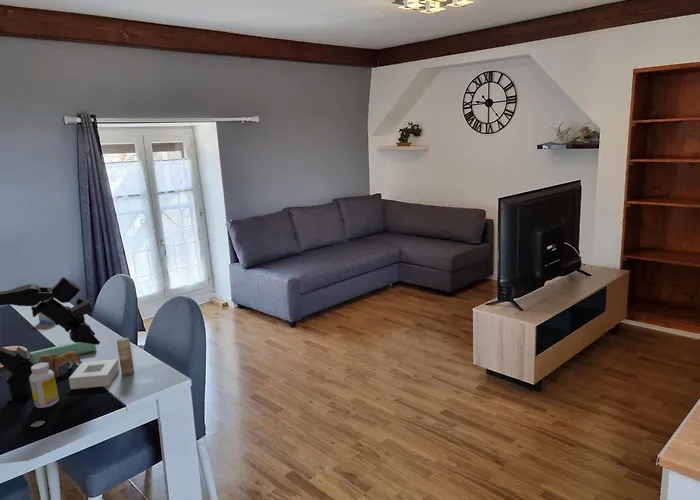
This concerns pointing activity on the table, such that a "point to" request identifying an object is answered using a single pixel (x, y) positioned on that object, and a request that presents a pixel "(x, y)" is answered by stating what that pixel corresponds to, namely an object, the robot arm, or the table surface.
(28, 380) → the robot arm
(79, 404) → the table surface
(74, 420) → the table surface
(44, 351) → the container
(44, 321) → the medicine box
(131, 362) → the peg
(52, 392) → the supplement bottle
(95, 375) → the socket
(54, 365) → the lion figurine
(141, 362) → the table surface
